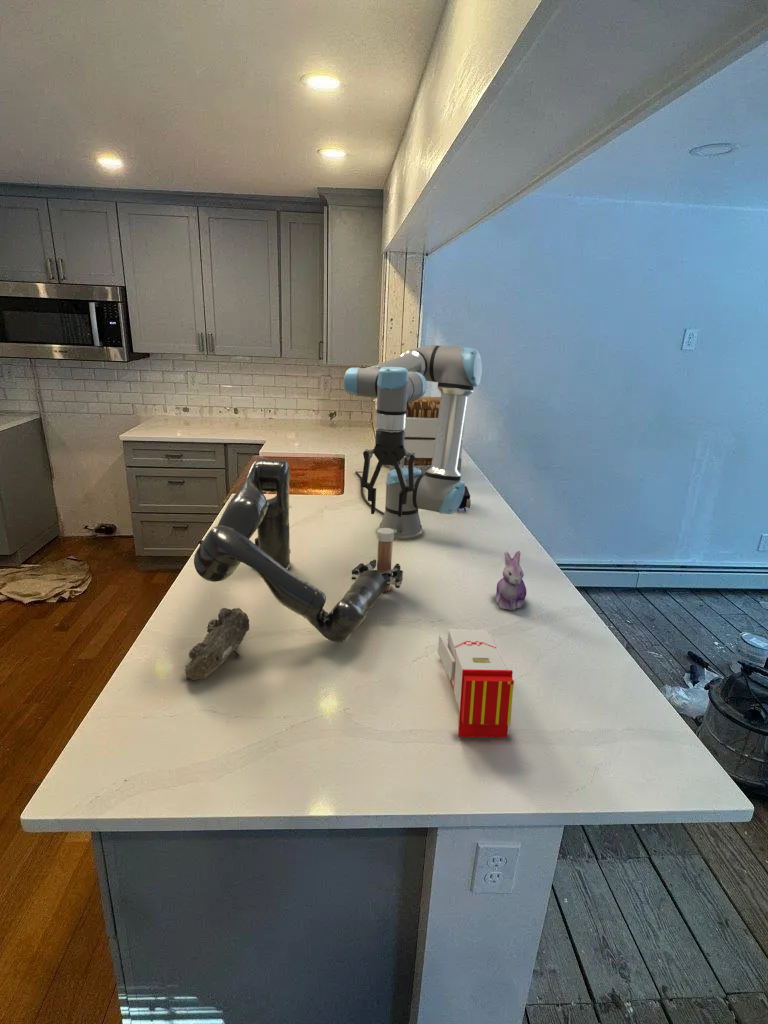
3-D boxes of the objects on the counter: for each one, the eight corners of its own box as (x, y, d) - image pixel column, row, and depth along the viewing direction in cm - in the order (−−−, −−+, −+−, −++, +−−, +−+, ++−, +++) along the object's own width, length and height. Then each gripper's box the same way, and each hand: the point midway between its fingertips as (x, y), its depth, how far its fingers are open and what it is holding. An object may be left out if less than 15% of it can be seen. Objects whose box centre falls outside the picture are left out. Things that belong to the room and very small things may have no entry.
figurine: (508, 614, 149) (515, 562, 144) (485, 597, 158) (490, 547, 153) (536, 607, 153) (543, 557, 148) (511, 591, 162) (518, 542, 157)
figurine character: (470, 516, 223) (465, 500, 237) (473, 499, 220) (467, 484, 233) (453, 516, 223) (449, 500, 236) (455, 498, 220) (451, 483, 233)
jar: (374, 590, 159) (377, 534, 153) (377, 584, 163) (379, 528, 157) (388, 592, 158) (391, 535, 153) (391, 586, 162) (394, 530, 156)
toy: (488, 613, 130) (523, 677, 101) (484, 667, 133) (517, 744, 104) (435, 612, 130) (455, 676, 101) (432, 666, 133) (451, 743, 103)
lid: (375, 541, 154) (375, 532, 153) (378, 534, 158) (379, 526, 157) (392, 543, 153) (392, 534, 152) (395, 536, 157) (395, 528, 156)
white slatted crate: (382, 463, 289) (386, 382, 275) (445, 464, 293) (451, 384, 279) (390, 482, 257) (394, 392, 243) (460, 483, 261) (468, 394, 247)
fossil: (204, 611, 136) (249, 581, 131) (232, 638, 139) (276, 610, 134) (164, 674, 117) (215, 642, 112) (197, 704, 120) (248, 674, 115)
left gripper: (340, 597, 149) (362, 572, 164) (392, 608, 145) (410, 580, 160) (340, 572, 146) (363, 548, 161) (393, 582, 142) (411, 556, 157)
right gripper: (429, 429, 147) (423, 512, 155) (355, 424, 150) (353, 506, 158) (427, 435, 140) (421, 521, 148) (350, 429, 143) (348, 515, 151)
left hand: (386, 564), depth 161 cm, fingers open, 6 cm apart
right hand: (386, 513), depth 153 cm, fingers open, 7 cm apart
